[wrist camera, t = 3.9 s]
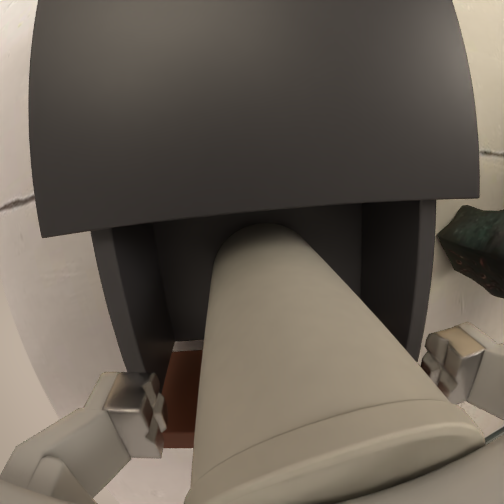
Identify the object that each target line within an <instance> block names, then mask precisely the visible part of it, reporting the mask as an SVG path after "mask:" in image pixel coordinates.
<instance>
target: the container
mask: <svg viewBox="0 0 504 504" xmlns="http://www.w3.org/2000/svg"><path fill="white" fill-rule="evenodd" d="M483 446H485V438H484V434H483V432H482V431H481V430H480V429H479V427H478V426H477V425H476V424H475V422H474V421H473V420H472V419H471V417H470V416H469V415H468V414H467V413H466V411H465V410H464V409H462V408H461V407H459V406H457V405H456V404H453V403H450V401H449V400H448V399H447V398H446V397H445V395H444V394H443V393H442V392H441V391H440V389H439V388H438V387H437V386H436V385H435V383H434V382H433V381H432V380H431V379H430V377H429V376H428V375H427V374H426V373H425V372H424V370H423V369H422V368H421V367H420V366H419V365H418V363H417V362H416V361H415V360H414V359H413V358H412V356H411V355H410V354H409V353H408V352H407V351H406V350H405V348H404V347H403V346H402V345H401V344H400V343H399V342H398V340H397V339H396V338H395V337H394V336H393V335H392V334H391V333H390V331H389V330H388V329H387V328H386V327H385V326H384V325H383V324H382V322H381V321H380V320H379V319H378V318H377V317H376V316H375V315H374V314H373V312H372V311H371V310H370V309H369V308H368V307H367V306H366V305H365V304H364V303H363V302H362V300H361V299H360V298H359V297H358V296H357V295H356V294H355V293H354V292H353V291H352V290H351V289H350V287H349V286H348V285H347V284H346V283H345V282H344V281H343V280H342V279H341V278H340V277H339V276H338V275H337V274H336V273H335V271H334V270H333V269H332V268H331V267H330V266H329V265H328V264H327V263H326V262H325V261H324V260H323V259H322V258H321V257H320V256H319V255H318V254H317V253H316V252H315V251H314V249H313V248H312V247H311V246H310V245H309V244H308V243H307V242H306V241H305V240H304V239H303V238H302V237H301V236H300V235H299V234H297V233H296V232H295V231H293V230H291V229H289V228H287V227H285V226H282V225H278V224H272V223H259V224H254V225H250V226H247V227H245V228H242V229H240V230H239V231H237V232H235V233H234V234H233V235H231V236H230V237H229V238H228V239H227V240H226V241H225V242H224V243H223V245H222V246H221V248H220V249H219V251H218V253H217V255H216V258H215V261H214V265H213V271H212V279H211V287H210V294H209V302H208V311H207V319H206V327H205V336H204V345H203V354H202V363H201V372H200V382H199V392H198V403H197V413H196V424H195V436H194V448H193V461H192V475H191V489H190V490H189V492H188V494H187V495H186V497H185V501H184V504H335V503H339V502H343V501H347V500H351V499H355V498H358V497H362V496H366V495H369V494H372V493H376V492H379V491H382V490H385V489H388V488H391V487H394V486H397V485H399V484H402V483H405V482H408V481H410V480H413V479H415V478H418V477H420V476H423V475H425V474H428V473H430V472H432V471H435V470H437V469H439V468H442V467H444V466H446V465H448V464H450V463H452V462H454V461H456V460H458V459H460V458H462V457H464V456H466V455H468V454H470V453H472V452H474V451H476V450H478V449H479V448H481V447H483Z"/></svg>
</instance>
